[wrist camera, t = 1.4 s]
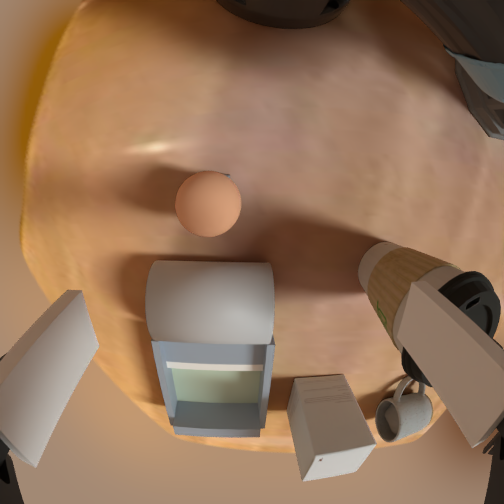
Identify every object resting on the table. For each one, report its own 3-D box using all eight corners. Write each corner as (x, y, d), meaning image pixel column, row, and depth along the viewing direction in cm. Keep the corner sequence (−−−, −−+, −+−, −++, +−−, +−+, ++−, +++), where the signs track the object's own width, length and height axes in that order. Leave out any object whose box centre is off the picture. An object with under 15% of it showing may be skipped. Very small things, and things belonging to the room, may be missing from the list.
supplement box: (285, 410, 36) (299, 482, 24) (294, 376, 33) (314, 456, 21) (332, 406, 36) (355, 473, 24) (346, 373, 34) (378, 444, 22)
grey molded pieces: (153, 174, 26) (124, 180, 19) (278, 175, 27) (295, 181, 20) (176, 397, 36) (168, 439, 28) (261, 400, 37) (266, 442, 29)
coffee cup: (347, 317, 31) (406, 411, 16) (336, 239, 27) (419, 314, 13) (416, 291, 30) (491, 360, 16) (413, 216, 27) (513, 263, 13)
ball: (181, 169, 22) (168, 172, 17) (241, 170, 22) (243, 173, 18) (182, 227, 24) (169, 244, 19) (239, 228, 24) (240, 246, 19)
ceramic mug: (407, 409, 39) (424, 437, 32) (370, 419, 39) (385, 451, 31) (428, 367, 36) (451, 396, 29) (390, 376, 35) (412, 410, 28)
